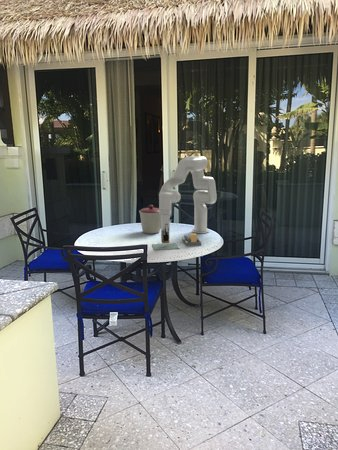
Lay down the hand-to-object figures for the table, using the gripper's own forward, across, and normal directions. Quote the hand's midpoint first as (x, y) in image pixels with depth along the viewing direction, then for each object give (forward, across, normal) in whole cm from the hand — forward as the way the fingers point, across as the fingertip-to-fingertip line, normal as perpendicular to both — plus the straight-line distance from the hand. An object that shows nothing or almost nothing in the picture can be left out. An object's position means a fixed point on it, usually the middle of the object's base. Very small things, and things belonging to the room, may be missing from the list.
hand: (165, 239), depth 232 cm
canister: (+5, -42, -4) cm, 43 cm away
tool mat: (+5, 0, 0) cm, 5 cm away
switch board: (+5, -7, +19) cm, 21 cm away
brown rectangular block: (+2, 0, 0) cm, 2 cm away
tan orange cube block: (+3, -3, +19) cm, 20 cm away
